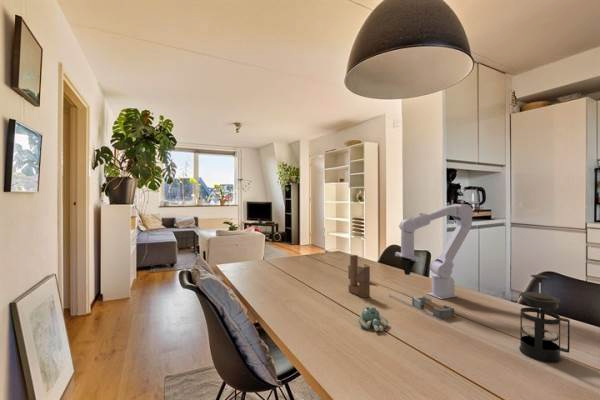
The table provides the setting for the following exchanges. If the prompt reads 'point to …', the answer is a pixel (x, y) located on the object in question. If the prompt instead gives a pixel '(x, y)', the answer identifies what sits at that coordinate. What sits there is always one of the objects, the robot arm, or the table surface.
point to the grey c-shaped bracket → (443, 312)
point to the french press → (541, 327)
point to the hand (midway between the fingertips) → (407, 274)
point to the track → (414, 306)
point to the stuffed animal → (372, 319)
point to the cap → (419, 301)
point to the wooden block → (359, 278)
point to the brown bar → (431, 306)
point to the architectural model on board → (358, 269)
